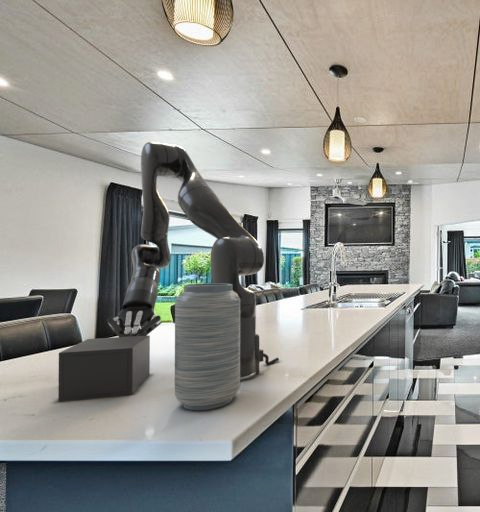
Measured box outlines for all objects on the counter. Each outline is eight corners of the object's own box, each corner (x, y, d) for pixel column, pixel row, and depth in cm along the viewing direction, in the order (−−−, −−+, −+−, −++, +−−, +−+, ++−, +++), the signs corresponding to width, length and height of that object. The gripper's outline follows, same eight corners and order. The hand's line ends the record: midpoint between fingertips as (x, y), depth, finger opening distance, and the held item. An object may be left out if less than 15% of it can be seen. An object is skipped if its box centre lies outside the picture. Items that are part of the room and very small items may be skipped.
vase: (210, 417, 68) (210, 286, 68) (159, 409, 72) (160, 285, 72) (252, 395, 79) (252, 283, 79) (206, 389, 83) (207, 282, 83)
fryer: (87, 380, 90) (87, 338, 90) (149, 375, 94) (149, 335, 94) (58, 401, 76) (58, 352, 76) (132, 394, 80) (132, 347, 80)
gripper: (110, 288, 105) (93, 342, 93) (165, 287, 110) (155, 338, 98) (117, 306, 110) (101, 359, 98) (169, 304, 115) (159, 355, 103)
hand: (128, 348), depth 98 cm, fingers closed
